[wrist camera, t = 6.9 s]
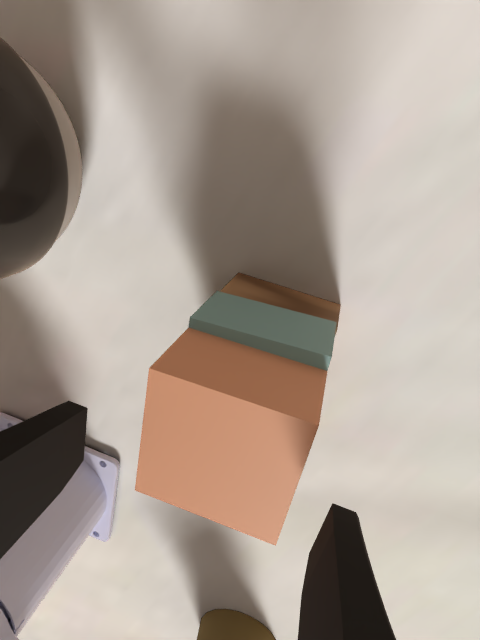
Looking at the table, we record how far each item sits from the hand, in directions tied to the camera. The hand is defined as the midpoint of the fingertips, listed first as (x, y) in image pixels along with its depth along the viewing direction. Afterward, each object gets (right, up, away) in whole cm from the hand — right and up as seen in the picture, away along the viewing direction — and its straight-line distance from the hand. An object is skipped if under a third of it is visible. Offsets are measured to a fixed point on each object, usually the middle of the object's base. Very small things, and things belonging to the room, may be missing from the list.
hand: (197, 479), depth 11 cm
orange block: (+1, +1, +4) cm, 4 cm away
